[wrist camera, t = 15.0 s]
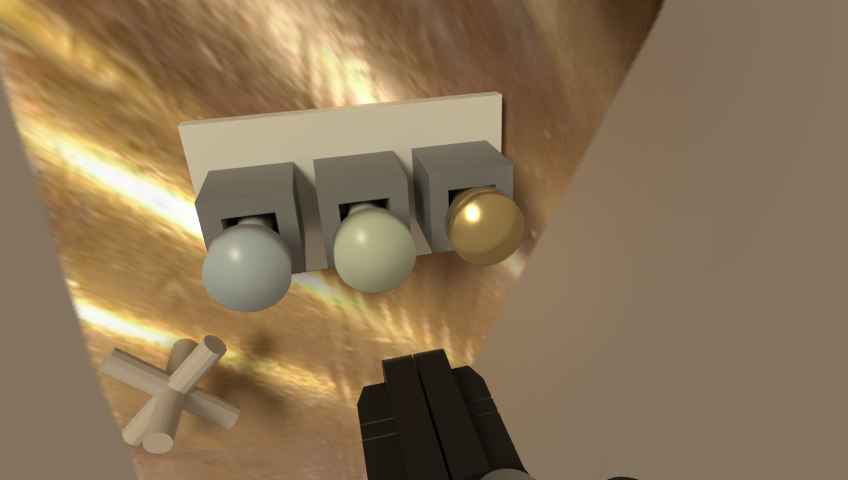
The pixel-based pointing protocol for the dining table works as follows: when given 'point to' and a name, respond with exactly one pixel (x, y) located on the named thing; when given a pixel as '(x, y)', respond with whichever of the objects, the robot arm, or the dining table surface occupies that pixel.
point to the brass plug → (483, 224)
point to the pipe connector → (171, 391)
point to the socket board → (345, 167)
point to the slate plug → (248, 265)
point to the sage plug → (373, 248)
